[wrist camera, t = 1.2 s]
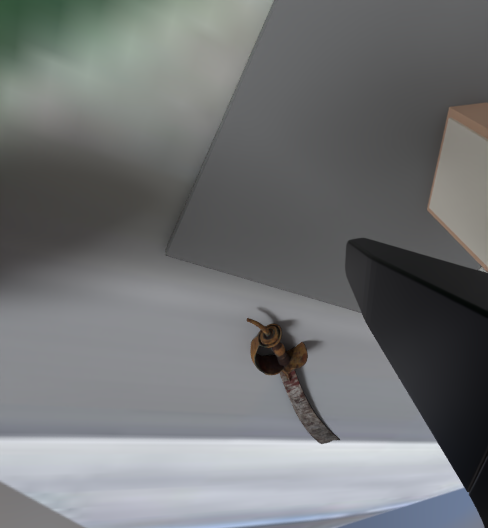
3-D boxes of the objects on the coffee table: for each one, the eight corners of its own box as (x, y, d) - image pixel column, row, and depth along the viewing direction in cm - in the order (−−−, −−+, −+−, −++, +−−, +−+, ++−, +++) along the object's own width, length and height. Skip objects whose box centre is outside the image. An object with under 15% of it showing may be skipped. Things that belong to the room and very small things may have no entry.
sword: (361, 450, 43) (369, 470, 41) (329, 462, 44) (335, 482, 42) (275, 292, 28) (281, 313, 27) (228, 313, 29) (231, 334, 27)
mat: (417, 324, 32) (421, 330, 31) (165, 249, 25) (165, 255, 24) (625, 100, 23) (634, 104, 22) (325, -117, 16) (329, -119, 15)
